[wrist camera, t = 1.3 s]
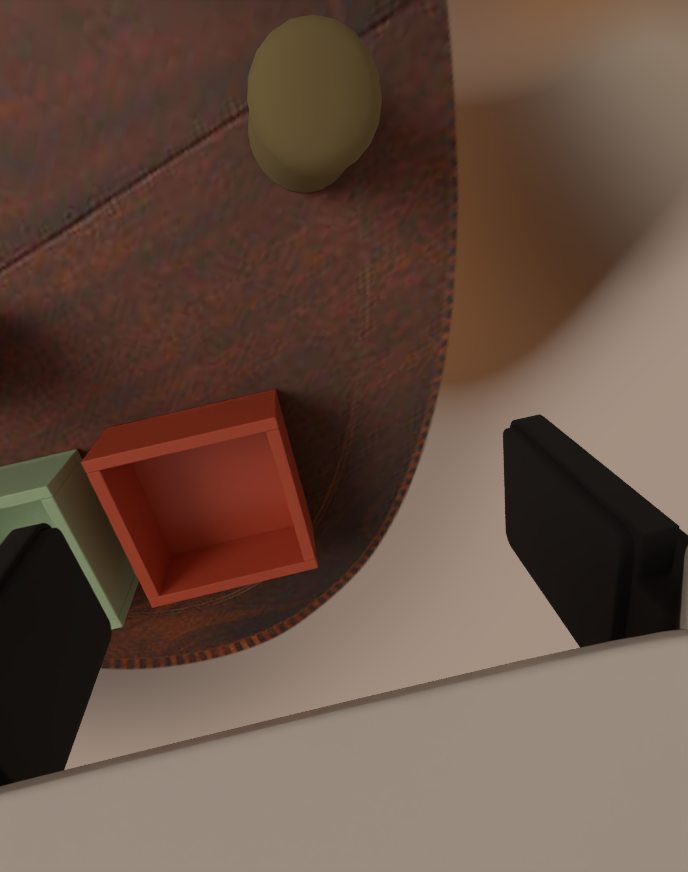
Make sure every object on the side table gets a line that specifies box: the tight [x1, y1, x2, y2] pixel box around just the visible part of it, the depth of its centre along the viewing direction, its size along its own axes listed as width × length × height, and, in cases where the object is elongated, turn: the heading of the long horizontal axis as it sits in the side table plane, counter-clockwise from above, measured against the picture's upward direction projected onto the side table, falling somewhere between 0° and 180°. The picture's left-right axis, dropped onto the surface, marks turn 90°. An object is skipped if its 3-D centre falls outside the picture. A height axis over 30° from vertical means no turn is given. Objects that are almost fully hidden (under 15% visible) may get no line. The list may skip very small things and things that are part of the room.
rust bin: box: [81, 389, 318, 608], centre depth 34 cm, size 12×12×5 cm
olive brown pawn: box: [247, 14, 382, 193], centre depth 23 cm, size 6×6×11 cm
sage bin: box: [0, 449, 139, 630], centre depth 34 cm, size 12×12×5 cm
